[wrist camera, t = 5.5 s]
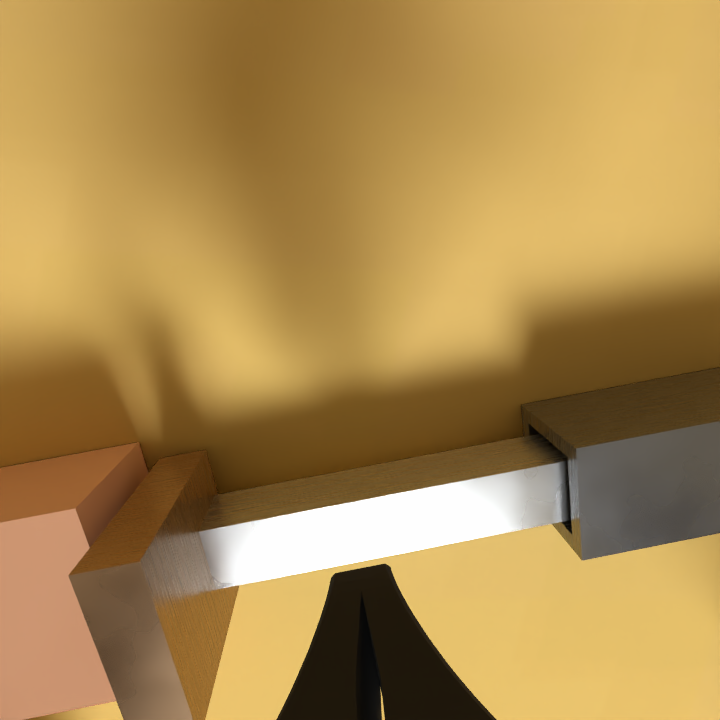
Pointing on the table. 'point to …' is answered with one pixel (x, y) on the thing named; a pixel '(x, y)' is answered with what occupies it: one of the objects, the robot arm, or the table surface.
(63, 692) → the socket block
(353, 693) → the robot arm
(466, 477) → the tube
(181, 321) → the table surface
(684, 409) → the sleeve
